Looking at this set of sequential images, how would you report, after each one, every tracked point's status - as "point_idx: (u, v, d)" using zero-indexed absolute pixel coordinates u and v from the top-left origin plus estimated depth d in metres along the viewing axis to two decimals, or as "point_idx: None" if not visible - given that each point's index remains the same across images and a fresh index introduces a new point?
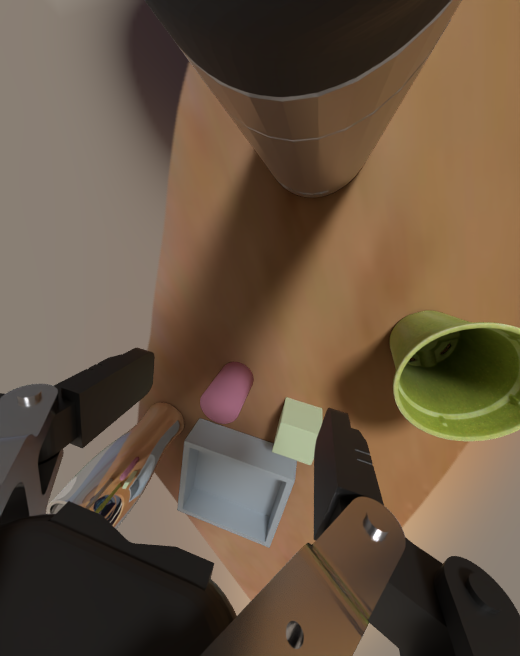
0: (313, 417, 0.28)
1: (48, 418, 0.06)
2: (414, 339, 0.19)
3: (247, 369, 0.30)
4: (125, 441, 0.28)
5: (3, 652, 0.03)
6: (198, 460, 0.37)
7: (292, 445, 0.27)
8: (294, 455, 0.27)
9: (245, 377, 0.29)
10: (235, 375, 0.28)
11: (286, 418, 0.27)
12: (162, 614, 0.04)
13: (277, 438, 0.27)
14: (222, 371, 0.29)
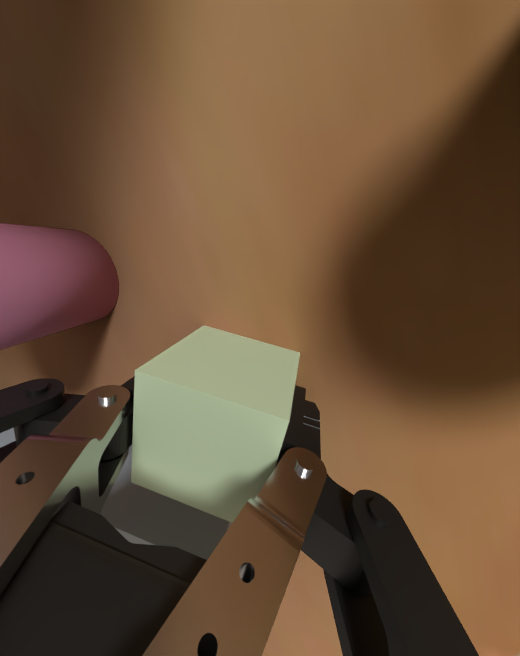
0: (267, 368, 0.09)
1: (116, 422, 0.07)
2: None
3: (92, 244, 0.11)
4: None
5: None
6: None
7: (188, 461, 0.08)
8: (200, 494, 0.08)
9: (65, 248, 0.09)
10: (12, 227, 0.09)
11: (167, 363, 0.08)
12: (162, 614, 0.04)
13: (137, 435, 0.08)
14: None
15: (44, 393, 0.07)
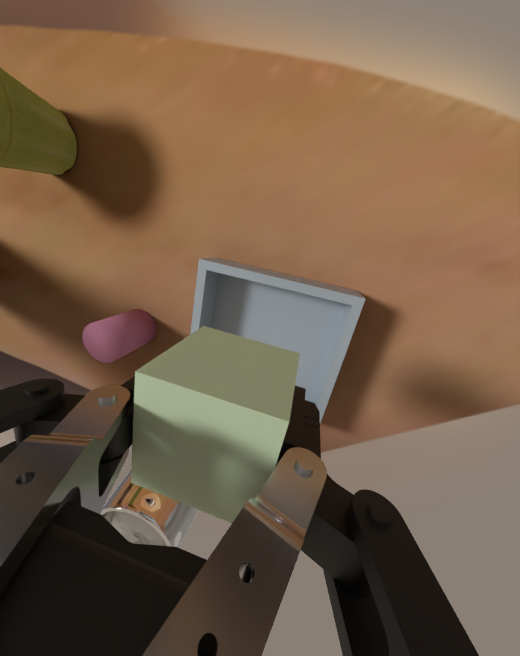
0: (267, 369, 0.09)
1: (116, 422, 0.07)
2: None
3: None
4: None
5: None
6: None
7: (187, 462, 0.08)
8: (199, 495, 0.08)
9: None
10: None
11: (167, 363, 0.08)
12: (162, 614, 0.04)
13: (137, 436, 0.08)
14: None
15: (44, 393, 0.07)
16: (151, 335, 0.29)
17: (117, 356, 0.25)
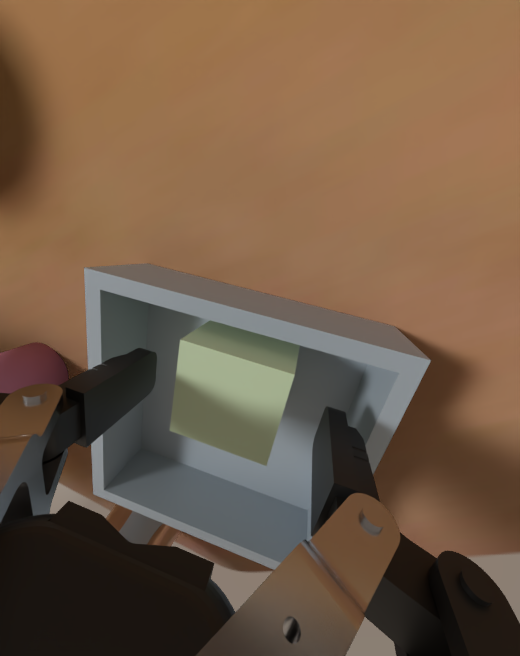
0: (276, 343, 0.11)
1: (53, 418, 0.06)
2: None
3: None
4: None
5: (4, 655, 0.03)
6: (221, 475, 0.17)
7: (216, 411, 0.10)
8: (224, 437, 0.10)
9: None
10: None
11: (201, 336, 0.10)
12: (162, 614, 0.04)
13: (177, 391, 0.10)
14: None
15: None
16: None
17: None
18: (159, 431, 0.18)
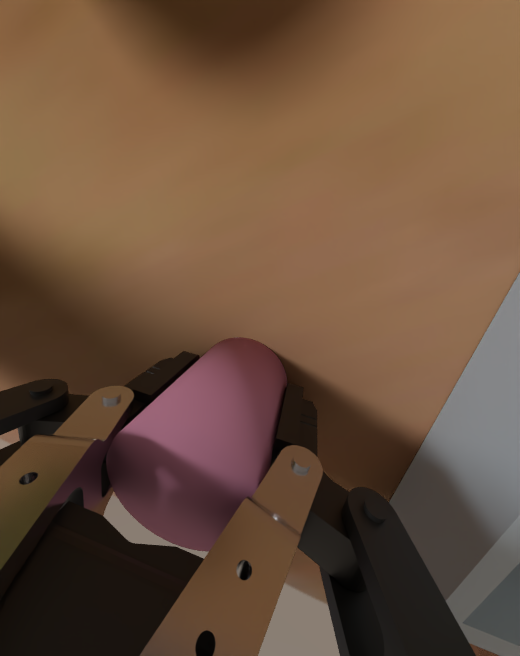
0: None
1: (119, 423, 0.07)
2: None
3: None
4: None
5: None
6: None
7: None
8: None
9: (197, 361, 0.10)
10: None
11: None
12: (162, 614, 0.04)
13: None
14: None
15: (48, 393, 0.07)
16: None
17: None
18: None
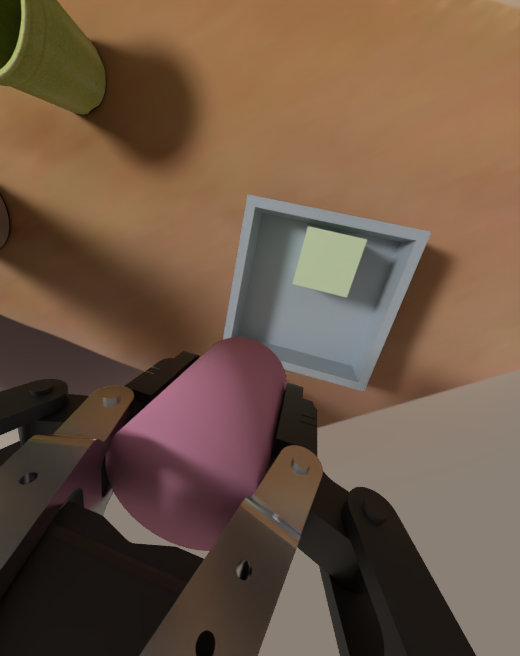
0: None
1: (119, 423, 0.07)
2: None
3: None
4: None
5: None
6: (295, 348, 0.27)
7: (322, 266, 0.19)
8: (324, 283, 0.20)
9: (197, 360, 0.10)
10: None
11: None
12: (162, 614, 0.04)
13: (301, 257, 0.20)
14: None
15: (48, 393, 0.07)
16: None
17: None
18: (253, 320, 0.27)
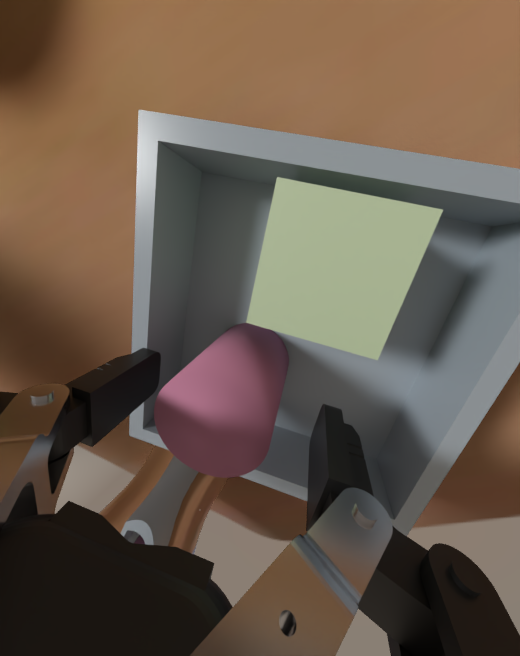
0: None
1: (59, 418, 0.06)
2: None
3: None
4: None
5: None
6: None
7: (316, 284, 0.08)
8: (322, 324, 0.08)
9: (216, 340, 0.12)
10: None
11: None
12: (162, 614, 0.04)
13: (264, 260, 0.08)
14: None
15: None
16: None
17: (255, 465, 0.09)
18: None
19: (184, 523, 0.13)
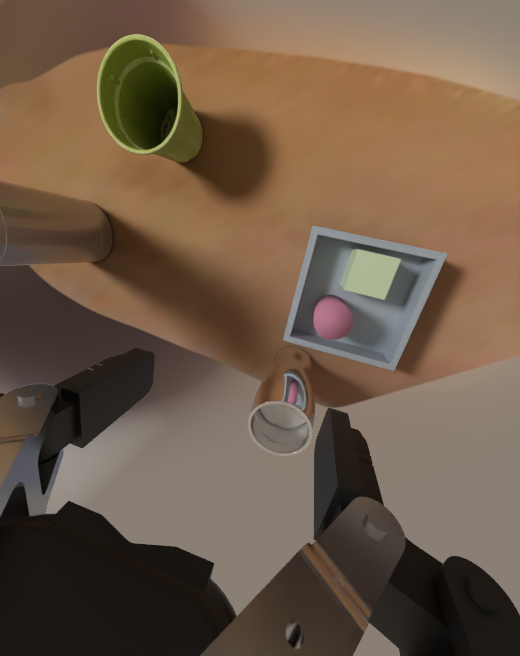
0: None
1: (48, 418, 0.06)
2: (139, 146, 0.28)
3: (319, 299, 0.33)
4: None
5: (3, 652, 0.03)
6: (337, 339, 0.34)
7: (367, 277, 0.27)
8: (368, 289, 0.27)
9: (321, 300, 0.32)
10: (315, 308, 0.31)
11: None
12: (162, 614, 0.04)
13: (352, 271, 0.27)
14: None
15: None
16: None
17: (346, 333, 0.28)
18: (305, 316, 0.35)
19: (307, 373, 0.32)
